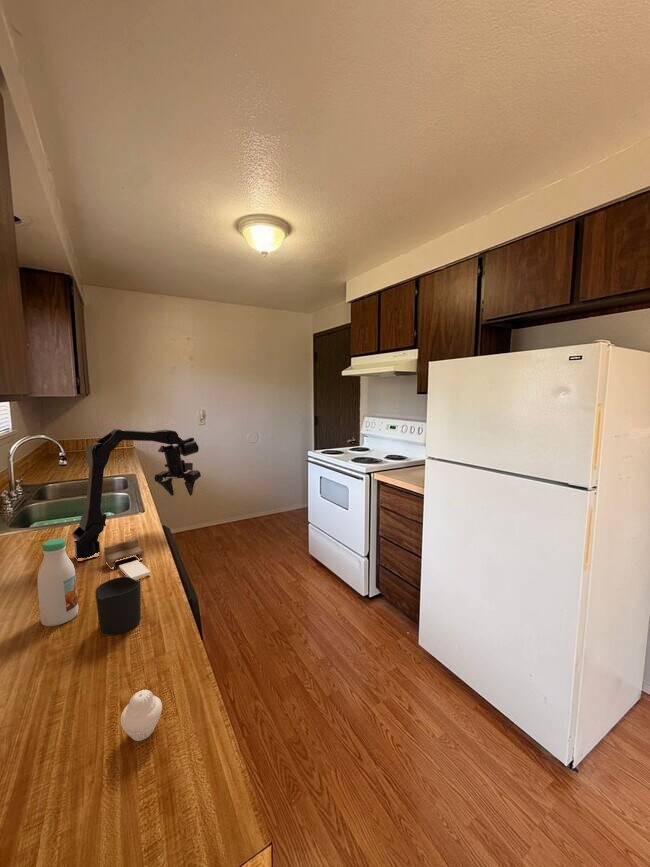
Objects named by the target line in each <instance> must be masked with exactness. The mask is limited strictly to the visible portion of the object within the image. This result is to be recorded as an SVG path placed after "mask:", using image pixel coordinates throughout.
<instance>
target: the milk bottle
mask: <svg viewBox="0 0 650 867" xmlns="http://www.w3.org/2000/svg"><path fill="white" fill-rule="evenodd" d="M66 543H67V541H66V539H64V538H53V539H49V540H46V541H44V542H43V543H42V546H41V548H42V553H43V560H42V563H41V565H40V567H39V570H38V573H37V597H38V606H39V608H38V609H39V618H40V623H41V625H43V626H44V627H55V626H60V625H62V624H65V623H67V622H69V621H72V620H73V619H74V618H75V617H76V616H77V615H78V614H79V599H78V598H79V597H78V586H77V585H78V583H77V577H76V576H77V575H76V569H75V566H74V563H73V562H72V561H71V559H70V558H69V556H68V554H67V552H66V548H67V546H66Z"/></svg>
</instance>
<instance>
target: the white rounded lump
mask: <svg viewBox="0 0 650 867" xmlns="http://www.w3.org/2000/svg"><path fill="white" fill-rule="evenodd" d="M162 712H163V703H162V700H161V699H160V697H159V696H158V697H157V696H156V695H154V694H153V692H152V691H151V690H148V689H142V690H139V691H138V692H135V694H133V695H132V696H131V698H130V699H129V703H128V704H127V705H126V706H125V707H124V709H123V710H122V713H121V715H120V724H121V727H122V729H123V731H124V732H125V733H126V734H127V736H129V737H130V738H131V739H132V740H133V741H135V742H140V741H141V742H142V741H145V740H146V739H148V738H149V737H150V736H151V735H152V734H153V732H154V730H155V728H156V726H157V725H158V722H159V720H160V718H161V714H162Z"/></svg>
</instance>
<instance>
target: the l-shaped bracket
mask: <svg viewBox="0 0 650 867" xmlns="http://www.w3.org/2000/svg"><path fill="white" fill-rule="evenodd" d="M103 550H104V560H105V562H107V563H108V565H109V566H110V567H111V568H112V567H115V568H116V563H115V561H116V560H120V559H123V558H126V557H130V556H133V555H136V556H137V557H138V558H139V559H140V558H143V559H144V555H143V553H144V550H143V549H142V548H141V547H140V546H139V541H138V538H134V539H130V540H127V541H122V542H119V543H115V544H112V545H111V544H110V545H107V546H104V549H103Z"/></svg>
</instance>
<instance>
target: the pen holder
mask: <svg viewBox="0 0 650 867" xmlns="http://www.w3.org/2000/svg"><path fill="white" fill-rule="evenodd" d="M94 592H95V593H94V594H95V600H96V607H97V608H96V609H97V617H98V618H97V619H98V624H99V629H100V633H102V634H103V635H105V636H119V635H123V634H124V633H125V634H126V633H128V632H130V631H132V630H134V628H136V627H137V626H138V625H139V623H140V621H141V620H142V619H141V618H142V616H141V615H142V612H141V611H142V610H141V609H142V608H141V606H142V604H141V601H142V599H141V598H142V597H141V595H142V594H141V593H142V592H141V580H138V581H136V580H134V579H132V578H130V577H125V576H120V577H114V578H113V579H109V580H107V581H105V582H102V583H101V584H100V585H98V586H97V588H96V589H95V591H94Z"/></svg>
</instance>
